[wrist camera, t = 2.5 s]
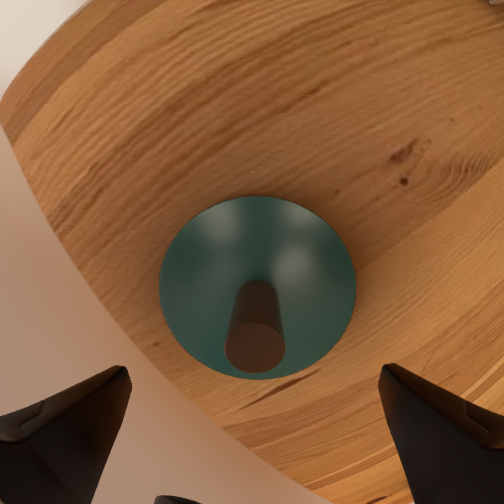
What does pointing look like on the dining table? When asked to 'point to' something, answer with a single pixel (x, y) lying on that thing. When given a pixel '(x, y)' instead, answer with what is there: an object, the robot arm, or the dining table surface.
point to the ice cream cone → (496, 2)
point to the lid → (257, 287)
